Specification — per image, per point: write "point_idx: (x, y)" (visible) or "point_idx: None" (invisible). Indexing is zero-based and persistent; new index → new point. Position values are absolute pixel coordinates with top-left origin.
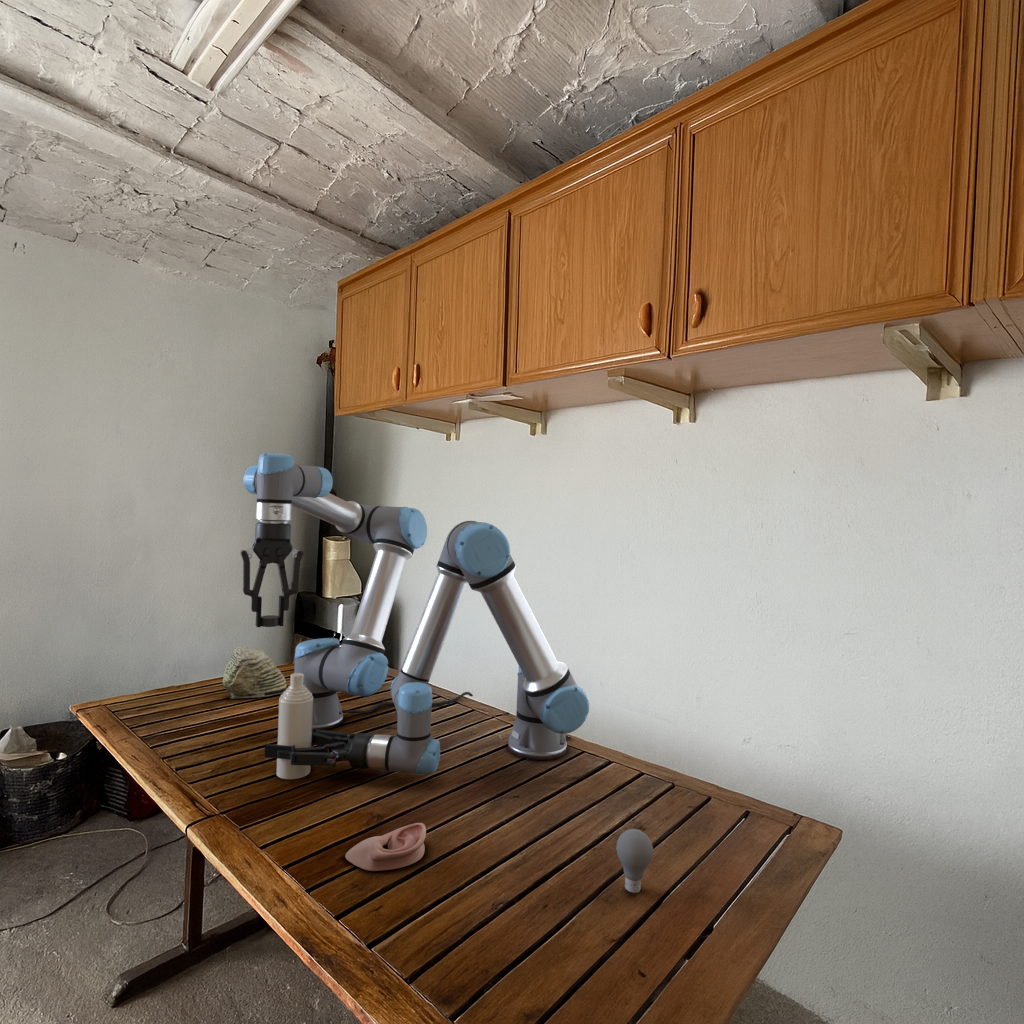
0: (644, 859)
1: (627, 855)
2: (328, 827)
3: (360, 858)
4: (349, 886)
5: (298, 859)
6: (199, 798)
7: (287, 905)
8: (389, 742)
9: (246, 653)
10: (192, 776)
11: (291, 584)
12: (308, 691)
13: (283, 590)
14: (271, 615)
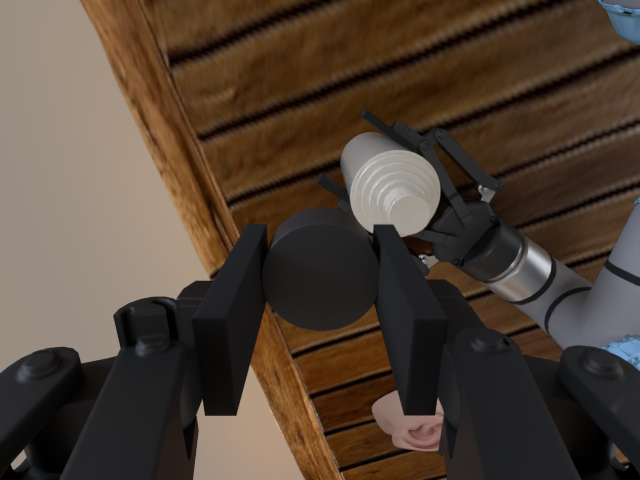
0: None
1: None
2: (373, 344)
3: (383, 423)
4: (362, 441)
5: (326, 389)
6: (219, 203)
7: (304, 444)
8: (527, 300)
9: None
10: (201, 109)
11: (616, 437)
12: (430, 205)
13: (446, 472)
14: (337, 236)
